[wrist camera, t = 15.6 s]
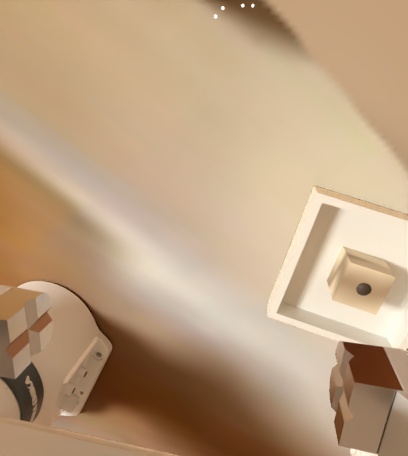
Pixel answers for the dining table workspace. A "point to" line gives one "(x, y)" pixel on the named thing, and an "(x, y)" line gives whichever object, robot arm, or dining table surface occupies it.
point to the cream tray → (324, 261)
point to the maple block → (360, 280)
